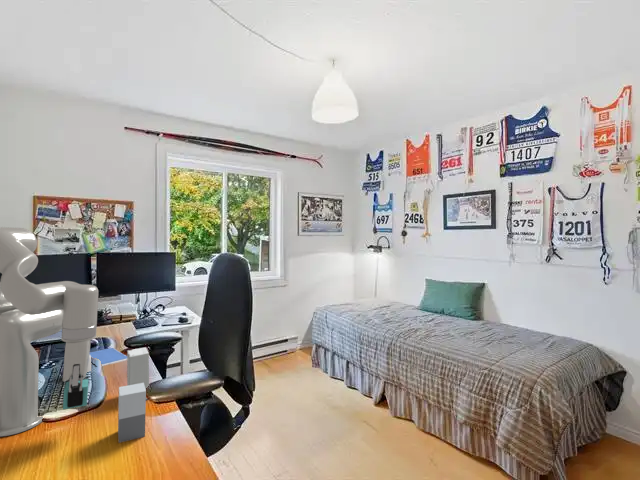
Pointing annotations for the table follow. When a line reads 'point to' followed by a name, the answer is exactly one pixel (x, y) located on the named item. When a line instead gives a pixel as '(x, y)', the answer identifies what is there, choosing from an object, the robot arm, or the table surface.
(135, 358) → the skincare box
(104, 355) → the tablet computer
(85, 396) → the teal block
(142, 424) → the tower base
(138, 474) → the table surface
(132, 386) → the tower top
